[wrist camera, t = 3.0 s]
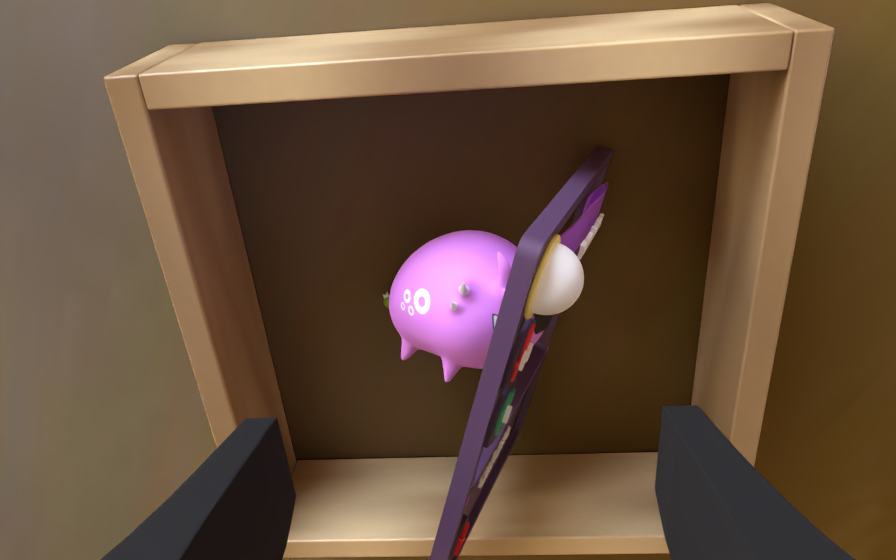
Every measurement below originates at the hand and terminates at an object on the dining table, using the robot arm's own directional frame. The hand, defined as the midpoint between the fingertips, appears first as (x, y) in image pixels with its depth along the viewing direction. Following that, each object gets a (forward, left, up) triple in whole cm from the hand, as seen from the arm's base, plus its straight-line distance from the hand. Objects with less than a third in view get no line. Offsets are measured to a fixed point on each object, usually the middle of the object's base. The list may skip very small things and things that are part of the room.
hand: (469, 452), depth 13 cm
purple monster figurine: (0, 0, -6) cm, 7 cm away
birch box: (0, 0, -6) cm, 6 cm away
